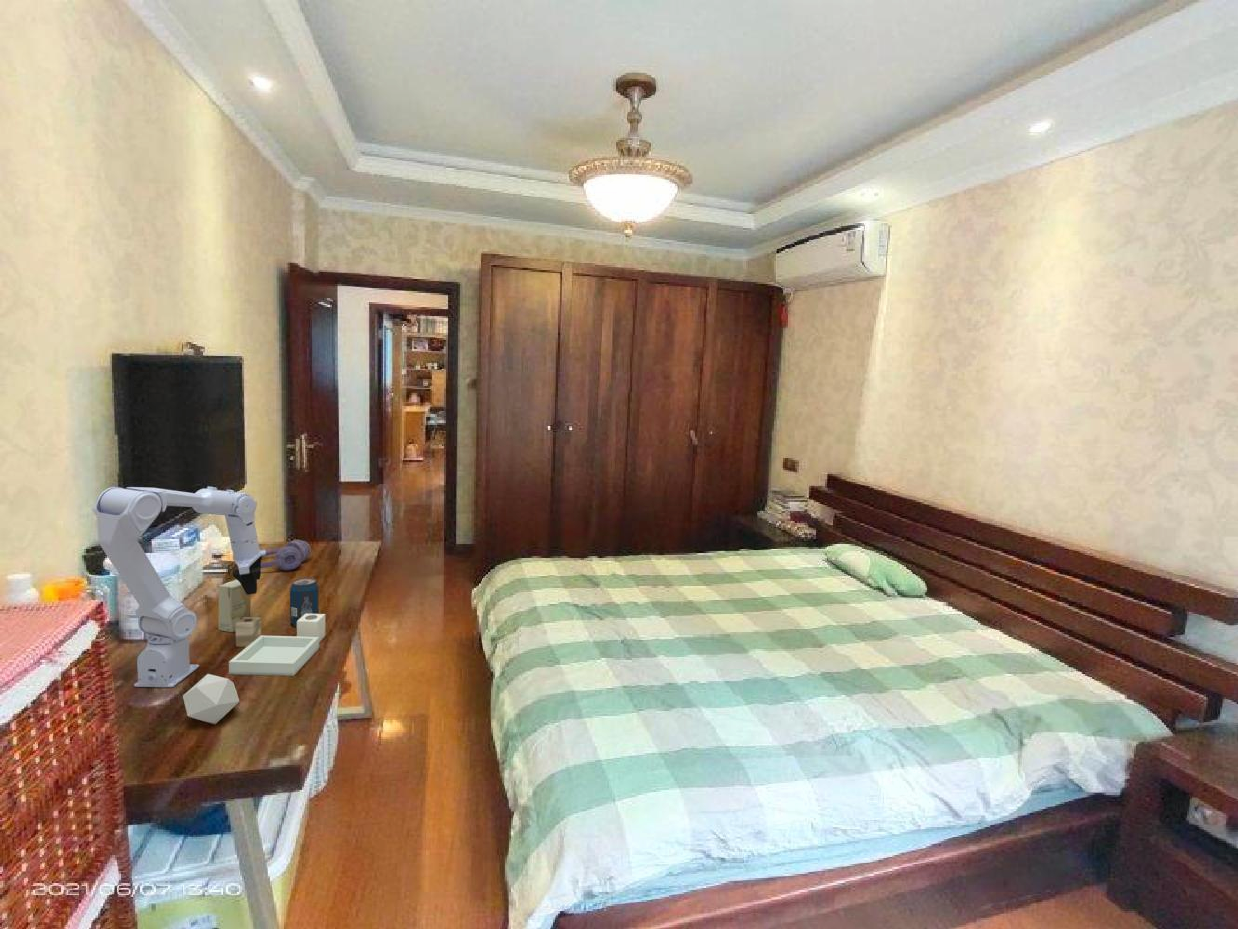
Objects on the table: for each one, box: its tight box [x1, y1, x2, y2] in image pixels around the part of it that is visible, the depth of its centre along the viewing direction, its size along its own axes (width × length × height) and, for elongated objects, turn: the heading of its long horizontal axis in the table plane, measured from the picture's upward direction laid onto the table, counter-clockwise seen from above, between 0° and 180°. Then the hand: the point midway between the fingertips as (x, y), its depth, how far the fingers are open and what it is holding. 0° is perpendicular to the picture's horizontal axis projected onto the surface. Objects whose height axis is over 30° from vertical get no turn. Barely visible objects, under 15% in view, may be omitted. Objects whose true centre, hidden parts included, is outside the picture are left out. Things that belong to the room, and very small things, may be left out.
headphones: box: [261, 539, 312, 572], centre depth 206 cm, size 18×8×20 cm
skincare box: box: [218, 579, 251, 633], centre depth 157 cm, size 6×4×12 cm
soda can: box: [289, 577, 320, 628], centre depth 162 cm, size 7×7×12 cm
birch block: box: [235, 616, 262, 648], centre depth 149 cm, size 4×4×6 cm
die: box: [182, 673, 240, 725], centre depth 117 cm, size 8×9×10 cm
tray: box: [228, 634, 320, 677], centre depth 141 cm, size 14×14×3 cm
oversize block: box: [296, 613, 326, 643], centre depth 153 cm, size 5×5×6 cm
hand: (253, 586), depth 152 cm, fingers open, 7 cm apart
